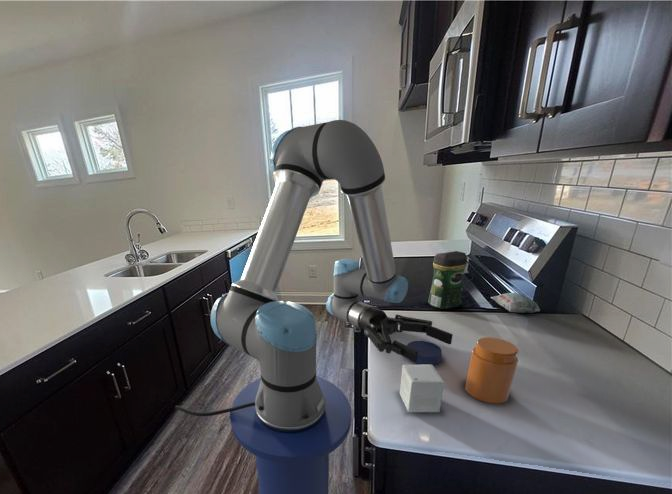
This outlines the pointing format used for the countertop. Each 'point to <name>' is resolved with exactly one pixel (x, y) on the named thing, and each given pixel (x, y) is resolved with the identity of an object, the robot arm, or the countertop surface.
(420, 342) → the lid
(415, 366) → the product box
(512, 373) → the jam jar
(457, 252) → the coffee jar
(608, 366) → the countertop surface
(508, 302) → the packaged food
